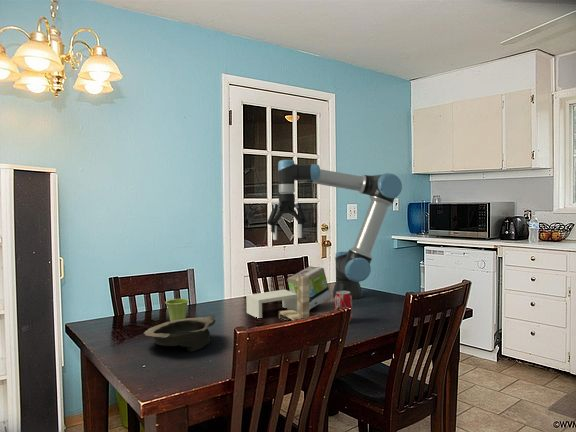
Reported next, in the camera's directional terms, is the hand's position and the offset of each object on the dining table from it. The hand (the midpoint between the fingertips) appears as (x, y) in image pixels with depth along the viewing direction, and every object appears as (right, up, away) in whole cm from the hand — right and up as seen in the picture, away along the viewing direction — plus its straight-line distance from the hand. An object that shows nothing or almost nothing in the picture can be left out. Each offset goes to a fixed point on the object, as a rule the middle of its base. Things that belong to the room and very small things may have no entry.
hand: (287, 238), depth 207 cm
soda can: (+23, -33, -26) cm, 48 cm away
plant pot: (-46, -34, -22) cm, 61 cm away
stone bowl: (-37, -35, -52) cm, 73 cm away
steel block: (0, -33, -21) cm, 39 cm away
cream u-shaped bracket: (-7, -32, -10) cm, 34 cm away
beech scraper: (+3, -32, -26) cm, 42 cm away
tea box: (+12, -29, -4) cm, 32 cm away
